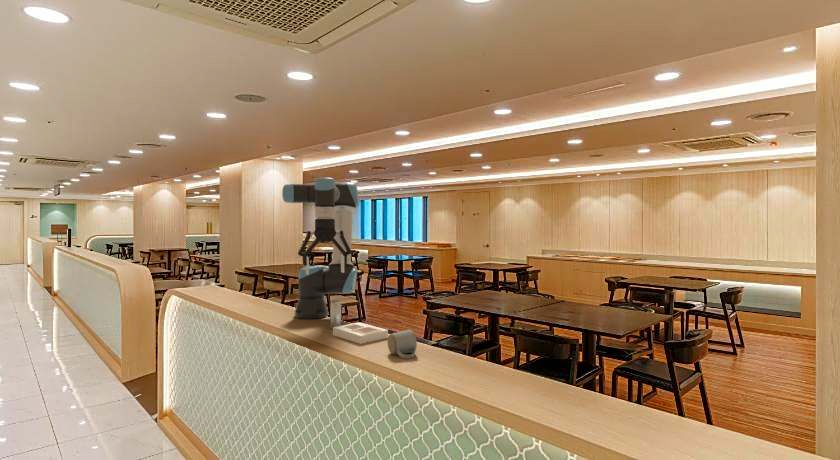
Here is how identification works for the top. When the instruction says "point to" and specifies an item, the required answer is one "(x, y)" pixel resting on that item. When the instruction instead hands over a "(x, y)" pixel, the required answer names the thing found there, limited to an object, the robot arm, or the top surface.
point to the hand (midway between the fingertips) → (325, 273)
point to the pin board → (360, 332)
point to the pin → (335, 314)
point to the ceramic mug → (402, 343)
